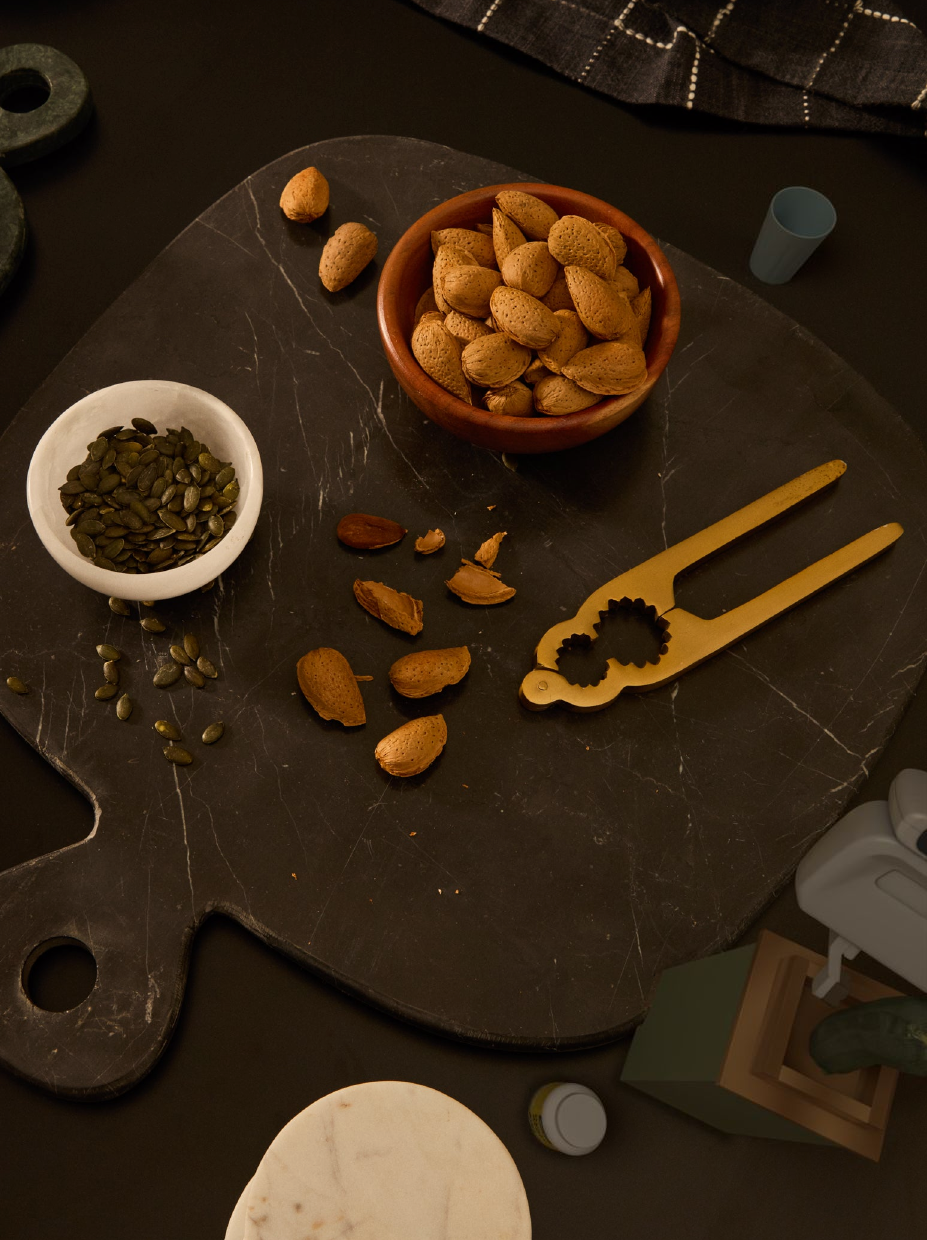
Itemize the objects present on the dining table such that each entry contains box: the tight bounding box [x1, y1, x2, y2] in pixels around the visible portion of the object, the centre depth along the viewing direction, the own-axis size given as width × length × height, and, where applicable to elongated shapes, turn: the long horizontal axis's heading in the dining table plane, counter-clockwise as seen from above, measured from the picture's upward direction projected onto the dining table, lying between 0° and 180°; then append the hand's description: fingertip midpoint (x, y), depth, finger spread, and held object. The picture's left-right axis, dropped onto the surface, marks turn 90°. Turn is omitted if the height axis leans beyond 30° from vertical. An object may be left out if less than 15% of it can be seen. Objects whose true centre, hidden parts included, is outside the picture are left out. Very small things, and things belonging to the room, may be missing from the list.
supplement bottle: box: [527, 1081, 608, 1157], centre depth 98 cm, size 5×5×10 cm
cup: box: [749, 186, 837, 285], centre depth 139 cm, size 8×8×10 cm
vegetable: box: [809, 995, 927, 1077], centre depth 70 cm, size 4×4×20 cm
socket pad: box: [715, 928, 908, 1163], centre depth 78 cm, size 11×11×4 cm
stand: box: [619, 942, 841, 1148], centre depth 92 cm, size 10×10×28 cm
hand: (894, 1045), depth 68 cm, fingers open, 8 cm apart
